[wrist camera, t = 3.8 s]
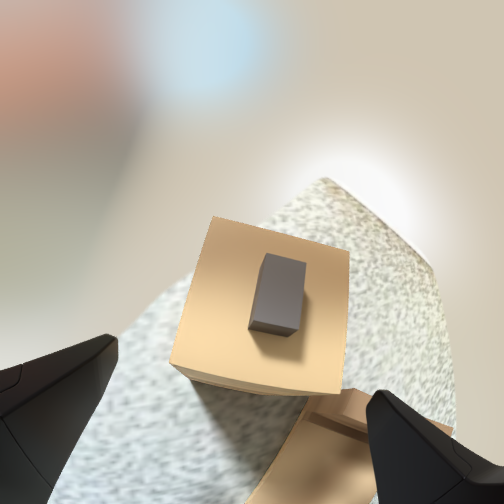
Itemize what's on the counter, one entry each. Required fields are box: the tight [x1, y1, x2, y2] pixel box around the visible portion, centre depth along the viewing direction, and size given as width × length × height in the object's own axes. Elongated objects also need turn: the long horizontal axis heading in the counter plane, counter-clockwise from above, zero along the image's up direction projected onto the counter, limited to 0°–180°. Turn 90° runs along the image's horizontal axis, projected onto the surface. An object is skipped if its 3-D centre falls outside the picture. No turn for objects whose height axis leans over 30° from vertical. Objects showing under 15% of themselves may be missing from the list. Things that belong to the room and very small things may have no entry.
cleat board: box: [244, 388, 453, 504], centre depth 11 cm, size 9×12×6 cm
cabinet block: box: [169, 216, 349, 396], centre depth 12 cm, size 5×5×12 cm
